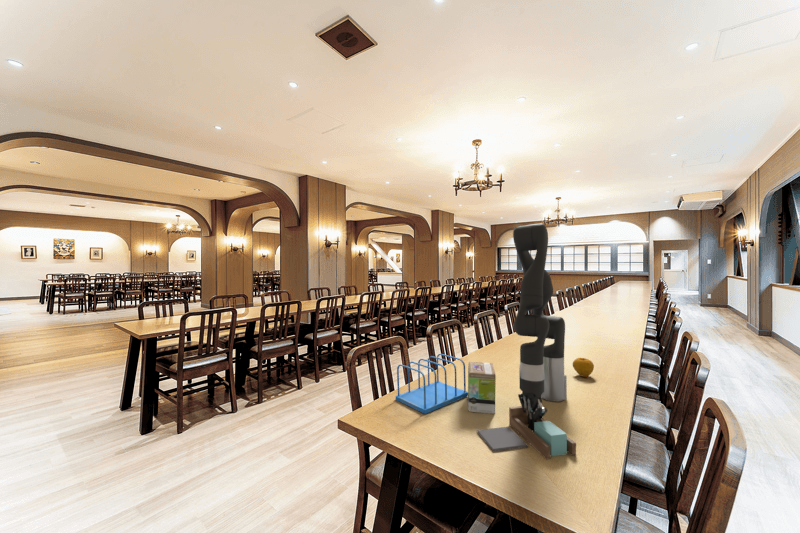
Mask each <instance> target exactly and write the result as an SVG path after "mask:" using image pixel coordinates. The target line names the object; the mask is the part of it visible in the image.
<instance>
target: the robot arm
mask: <svg viewBox="0 0 800 533" xmlns="http://www.w3.org/2000/svg"><path fill="white" fill-rule="evenodd" d="M512 238H513V243H514V248H515V250H516V253H517V256H518V259H519V262H520V264H521V269H522V273H523V277H522V279H521V282H520V299H519V307H518V310H517V314H516V316H515V320H514V324H513V328H514V332H515V333H516V334H517V335H518V336H521V337H530V338H531V337H532V338H536V340H534V341H531V342H525V343H522V344H521V345H520V346H519V347H520V348H519V371H518V372H519V378H518V379H519V390H520V392H521V391H522V393H518V394H517V396H518V399H519V401H520V406H522V409H523V412H524V413H526V416H527V417H528V425H527V427H528V428H529V429H531V430H532V431H533V432H534V422H537V420H538V419H542V418H543V417H544V416H545V415H546V413H547V412H548V408H547V407H544V405H543V400H545V401H547V402H548V401H549V402H553V403H554V402H555V403H556V402H563V401H564V400H567V394H568V392H567V391H568V390H567V388H568V386H567V385H568V384H567V383H568V382H567V375H566V374H565V339H566V338H565V336H566V322H565V319H564V318H563V317H562V316H555V315H545V314H544V310H545V307H546V306H547V305H548V303H549V302H550V300H551V299H552V297H553V294H554V287H553V286H554V285H553V281H552V277H551V275H550V273H549V272H548V271H547V270H546V262H547V254H548V246H549V233H548V228H547V227H546V225H545V223H541V222H540V223H534V224H532V223H531V224H527V225H525V224H524V225H520V226H517V227H515V228H514V229H513V232H512ZM530 251H536V253H535V256H534V258H533V257H532V254H531V252H530ZM529 311H531V312H532V314H527V313H528V312H529ZM547 339H550V340H554V341H553V343H551V344H547V345H545V343H546V341H547Z"/></svg>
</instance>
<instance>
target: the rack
mask: <svg viewBox="0 0 800 533" xmlns="http://www.w3.org/2000/svg"><path fill="white" fill-rule="evenodd" d="M508 408H509V409H508V410H509V411H508V415H509V416H508V417H509V420H508V421H509V422H508V423H509V427H510V428H511V429H512V430H513V431H514V430H515V431H516V432H517V434H519V436H521V437H522V438H523V440H525V441H527V442H526V443H528V444H529V445H530V446H532V448H534V449H535V450H536V451H537V452H538V453H539V454H540V455H541V456H542V457H543V458H545V459H546V460H551V456H550V446H549V445H548V444H547V443H546V442H545V441H544V440H542V439H541V438H540V437H539V436H538V435H536V434H535V433H534V430H533V431H532V430H531V429H529V428H528V417H527V416H526V413H524V412H523V409H522V406H521V405H519V406H509V407H508ZM542 421H547V420H546V419H544V418H543V417H542V419H538V420H537V422H542ZM568 453H569V454H570V455H571V456H577V442H576V441H574V440H573V439H571V437H568V436H567V454H568Z"/></svg>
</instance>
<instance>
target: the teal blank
mask: <svg viewBox="0 0 800 533" xmlns="http://www.w3.org/2000/svg"><path fill="white" fill-rule="evenodd" d="M533 432H534V433H535V434H536V435H538V436H539V437H540V438H541V439H542V440H544V441H545V442H546V443H547V444H548V445H549V446H550V457H557V456H563V455H567V454H568V452H567V437H568V434H567V432H565V431H564V430H562V429H561V428H560V427H558V426H557V425H556V424H555V423H553V422H551V421H550V420H546V421H542V422H534V430H533Z"/></svg>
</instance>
